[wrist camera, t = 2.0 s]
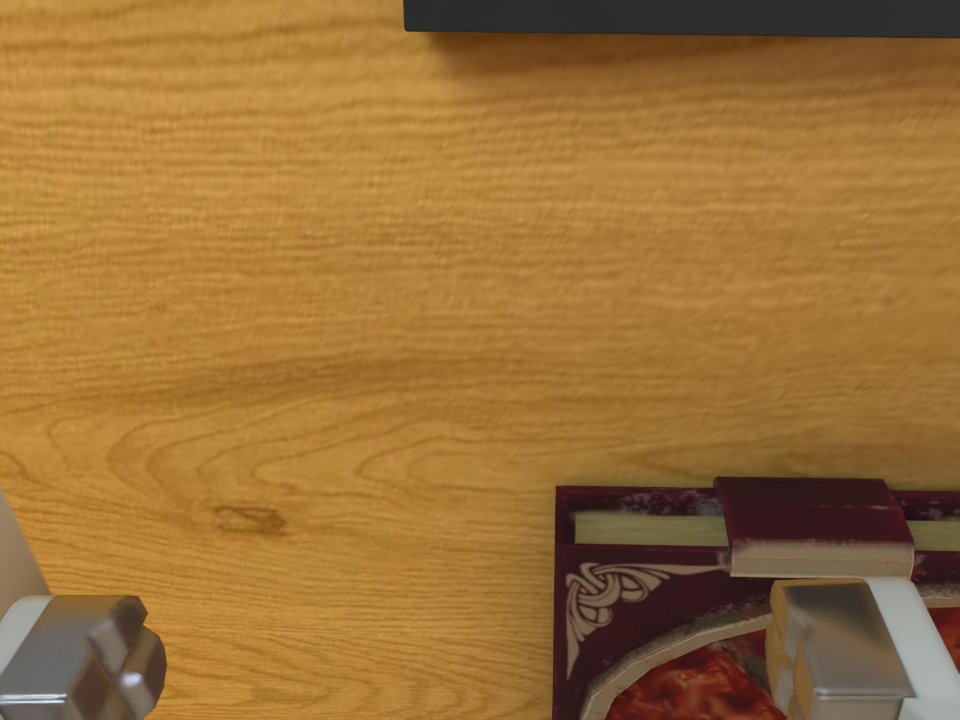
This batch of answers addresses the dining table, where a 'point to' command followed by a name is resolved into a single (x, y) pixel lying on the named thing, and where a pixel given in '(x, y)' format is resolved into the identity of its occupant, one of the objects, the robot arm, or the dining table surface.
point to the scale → (691, 17)
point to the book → (722, 584)
